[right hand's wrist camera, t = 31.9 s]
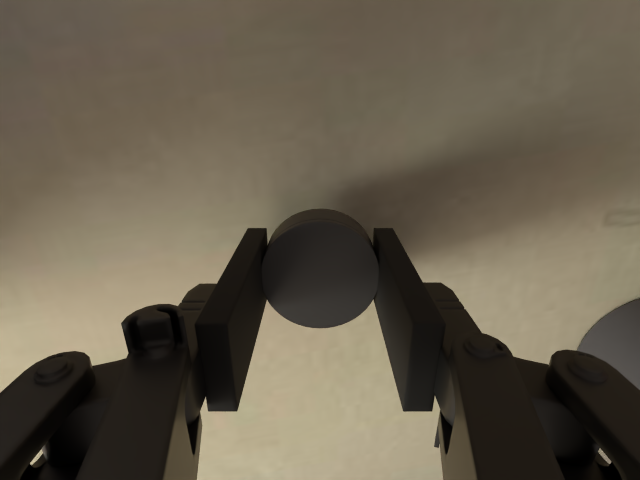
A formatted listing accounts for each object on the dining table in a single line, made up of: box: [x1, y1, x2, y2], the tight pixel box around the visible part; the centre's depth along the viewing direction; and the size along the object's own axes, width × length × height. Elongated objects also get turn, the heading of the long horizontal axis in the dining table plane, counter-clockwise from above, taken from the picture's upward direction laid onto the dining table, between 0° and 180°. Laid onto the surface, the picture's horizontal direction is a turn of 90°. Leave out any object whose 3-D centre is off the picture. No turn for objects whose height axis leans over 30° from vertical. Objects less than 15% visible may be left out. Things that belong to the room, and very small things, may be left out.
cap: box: [261, 209, 379, 328], centre depth 14 cm, size 4×4×2 cm
